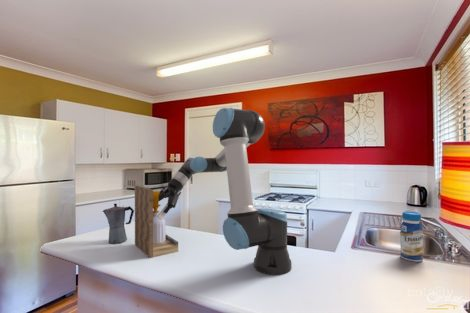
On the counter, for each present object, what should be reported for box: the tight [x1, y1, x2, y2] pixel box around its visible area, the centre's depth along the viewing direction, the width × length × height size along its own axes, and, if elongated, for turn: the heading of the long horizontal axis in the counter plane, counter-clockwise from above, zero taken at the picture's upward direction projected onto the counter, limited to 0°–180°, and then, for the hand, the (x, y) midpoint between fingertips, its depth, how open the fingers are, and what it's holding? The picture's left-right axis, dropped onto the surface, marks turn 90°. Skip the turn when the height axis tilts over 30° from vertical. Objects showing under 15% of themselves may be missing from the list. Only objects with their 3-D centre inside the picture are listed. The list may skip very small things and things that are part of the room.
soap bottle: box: [153, 190, 167, 244], centre depth 131 cm, size 9×9×25 cm
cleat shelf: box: [134, 184, 179, 259], centre depth 130 cm, size 22×14×30 cm, turn 37°
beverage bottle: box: [399, 210, 424, 263], centre depth 116 cm, size 8×8×20 cm
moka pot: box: [102, 203, 135, 245], centre depth 141 cm, size 10×15×20 cm, turn 107°
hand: (151, 216), depth 129 cm, fingers open, 13 cm apart
